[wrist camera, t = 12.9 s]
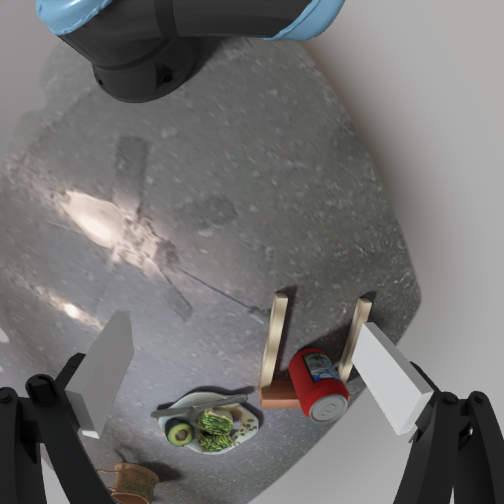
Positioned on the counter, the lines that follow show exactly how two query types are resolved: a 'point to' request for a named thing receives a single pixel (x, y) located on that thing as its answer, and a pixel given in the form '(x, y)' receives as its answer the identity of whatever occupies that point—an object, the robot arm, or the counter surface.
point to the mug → (133, 483)
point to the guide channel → (277, 391)
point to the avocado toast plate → (207, 422)
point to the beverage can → (318, 385)
